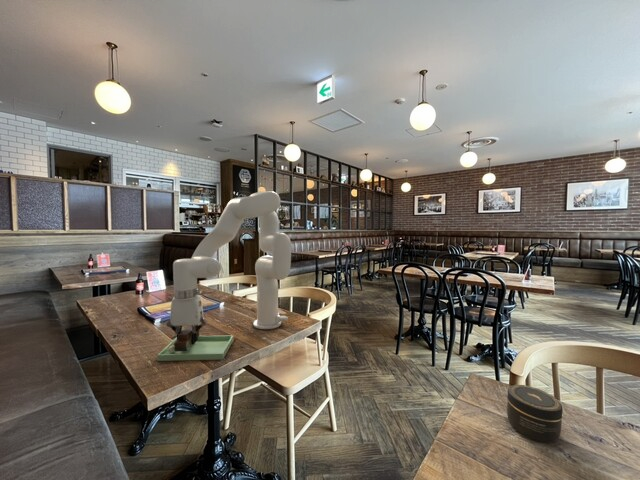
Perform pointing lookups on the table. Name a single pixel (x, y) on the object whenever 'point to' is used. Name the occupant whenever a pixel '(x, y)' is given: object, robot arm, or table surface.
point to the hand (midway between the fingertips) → (187, 342)
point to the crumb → (171, 349)
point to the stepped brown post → (184, 340)
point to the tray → (200, 349)
